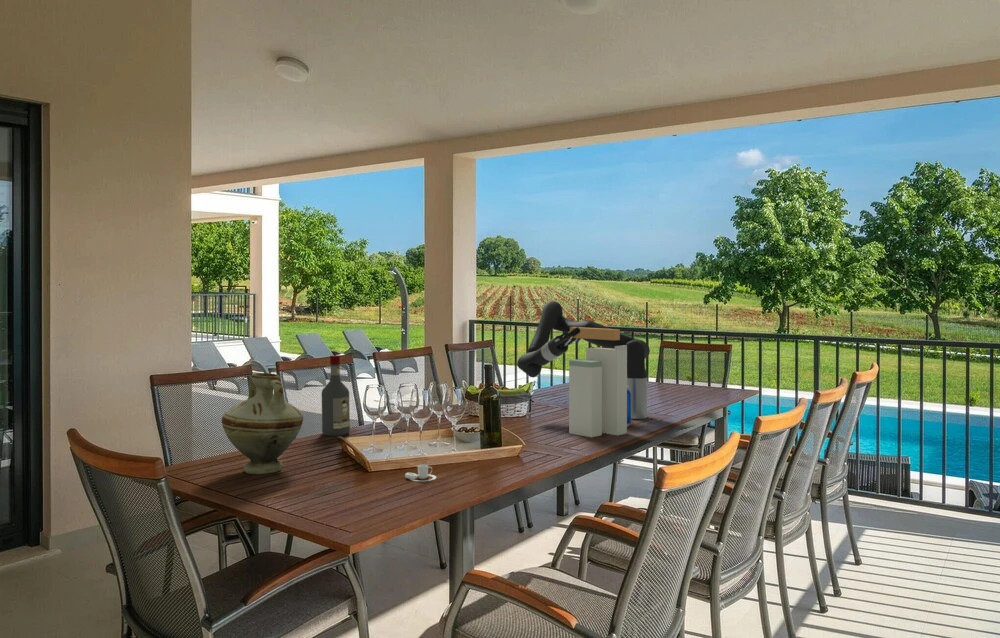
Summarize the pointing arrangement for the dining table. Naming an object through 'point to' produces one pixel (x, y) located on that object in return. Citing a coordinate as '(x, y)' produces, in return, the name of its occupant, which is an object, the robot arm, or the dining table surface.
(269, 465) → the amphora
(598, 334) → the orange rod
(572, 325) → the robot arm
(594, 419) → the green-topped post
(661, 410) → the dining table surface
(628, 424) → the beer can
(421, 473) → the teacup and saucer
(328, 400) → the liquor
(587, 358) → the white post
